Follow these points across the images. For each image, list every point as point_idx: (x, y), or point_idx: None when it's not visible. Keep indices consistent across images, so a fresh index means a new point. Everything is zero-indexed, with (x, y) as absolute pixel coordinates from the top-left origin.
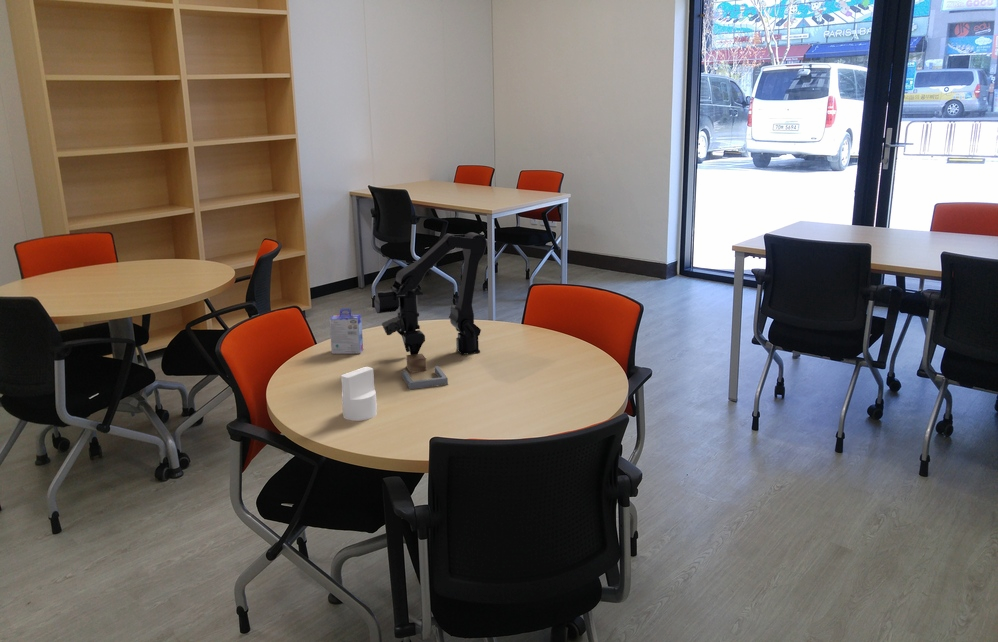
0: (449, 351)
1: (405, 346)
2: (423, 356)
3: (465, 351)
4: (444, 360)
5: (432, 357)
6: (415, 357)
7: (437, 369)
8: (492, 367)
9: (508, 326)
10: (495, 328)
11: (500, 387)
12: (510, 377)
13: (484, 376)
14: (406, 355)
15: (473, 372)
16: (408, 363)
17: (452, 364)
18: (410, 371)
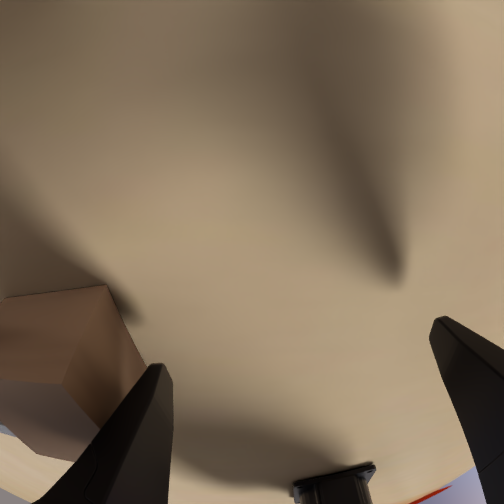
0: (365, 452)
1: (467, 351)
2: (66, 458)
3: (306, 491)
4: (238, 454)
5: (312, 421)
6: (25, 421)
7: (1, 426)
8: None
9: (453, 476)
10: (463, 466)
11: (5, 462)
12: None
13: (60, 475)
14: (61, 381)
15: None
16: (21, 333)
17: (171, 464)
18: (1, 303)
